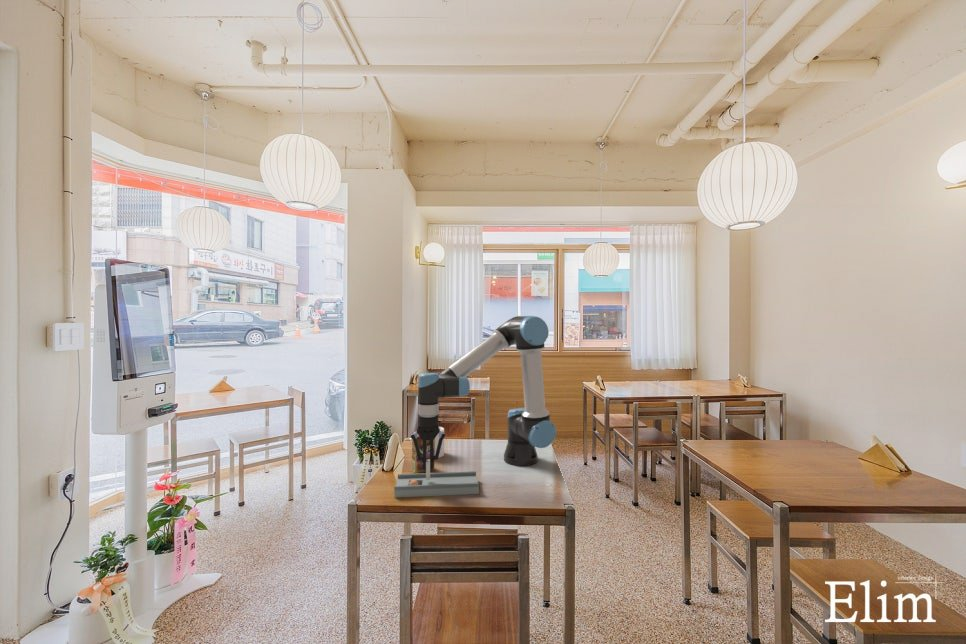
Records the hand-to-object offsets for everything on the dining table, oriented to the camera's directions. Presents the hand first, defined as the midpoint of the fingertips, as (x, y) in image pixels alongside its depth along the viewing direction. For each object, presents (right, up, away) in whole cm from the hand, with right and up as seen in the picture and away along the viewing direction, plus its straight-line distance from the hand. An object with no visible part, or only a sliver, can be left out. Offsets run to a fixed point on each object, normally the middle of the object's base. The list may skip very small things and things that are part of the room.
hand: (428, 478), depth 149 cm
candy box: (-5, -4, +19) cm, 20 cm away
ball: (-5, -2, -1) cm, 6 cm away
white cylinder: (-4, -4, +38) cm, 38 cm away
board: (+3, -4, 0) cm, 5 cm away
